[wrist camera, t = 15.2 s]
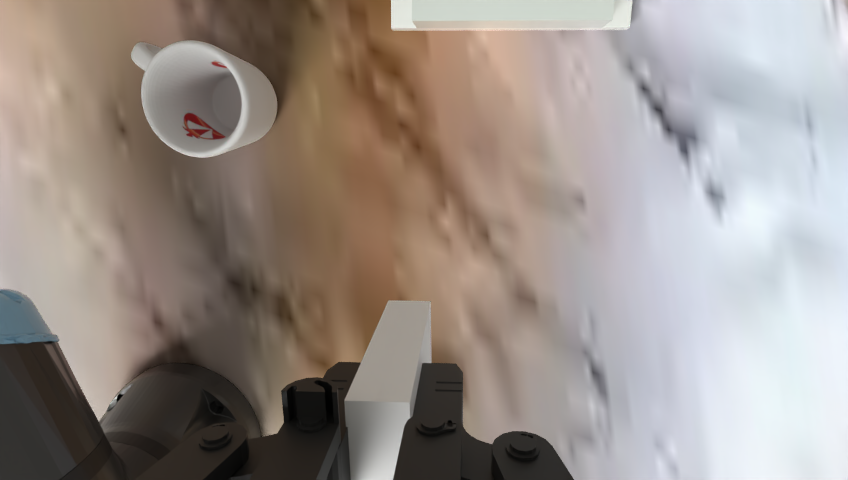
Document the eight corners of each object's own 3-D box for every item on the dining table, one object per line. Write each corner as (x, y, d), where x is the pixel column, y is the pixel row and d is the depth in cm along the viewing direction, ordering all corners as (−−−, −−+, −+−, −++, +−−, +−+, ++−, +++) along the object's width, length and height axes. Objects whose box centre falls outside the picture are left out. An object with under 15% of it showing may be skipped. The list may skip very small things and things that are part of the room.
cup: (157, 96, 43) (87, 91, 35) (198, 14, 41) (134, -11, 33) (261, 169, 44) (214, 180, 36) (307, 91, 42) (268, 84, 34)
